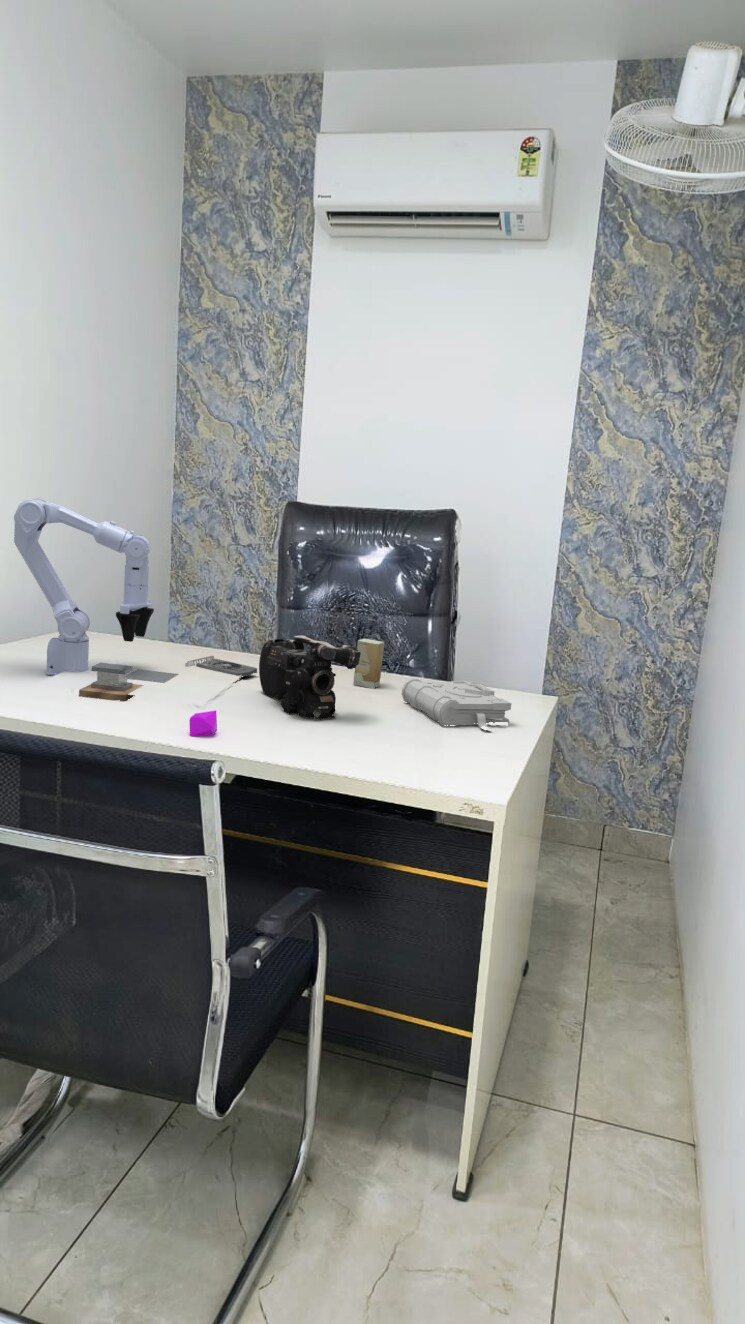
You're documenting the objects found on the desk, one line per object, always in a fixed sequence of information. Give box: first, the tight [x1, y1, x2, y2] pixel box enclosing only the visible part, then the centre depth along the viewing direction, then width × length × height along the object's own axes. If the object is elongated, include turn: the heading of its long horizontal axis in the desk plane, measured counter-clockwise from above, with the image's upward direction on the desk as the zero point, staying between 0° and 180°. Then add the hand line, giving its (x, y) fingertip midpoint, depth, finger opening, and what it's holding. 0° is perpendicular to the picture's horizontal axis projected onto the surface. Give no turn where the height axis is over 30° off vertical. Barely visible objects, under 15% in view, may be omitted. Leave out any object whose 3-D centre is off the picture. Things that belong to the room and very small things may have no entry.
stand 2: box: [127, 668, 179, 684], centre depth 230 cm, size 11×11×2 cm
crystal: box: [189, 710, 218, 737], centre depth 189 cm, size 5×5×5 cm
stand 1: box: [78, 683, 144, 702], centre depth 215 cm, size 11×11×2 cm
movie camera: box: [258, 635, 361, 720], centre depth 218 cm, size 31×18×18 cm, turn 33°
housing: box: [90, 662, 134, 692], centre depth 215 cm, size 8×5×5 cm, turn 83°
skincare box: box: [352, 638, 385, 689], centre depth 245 cm, size 6×4×12 cm
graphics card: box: [184, 655, 258, 679], centre depth 245 cm, size 17×4×12 cm
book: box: [401, 678, 513, 728], centre depth 222 cm, size 19×28×8 cm
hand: (134, 638), depth 231 cm, fingers open, 7 cm apart
